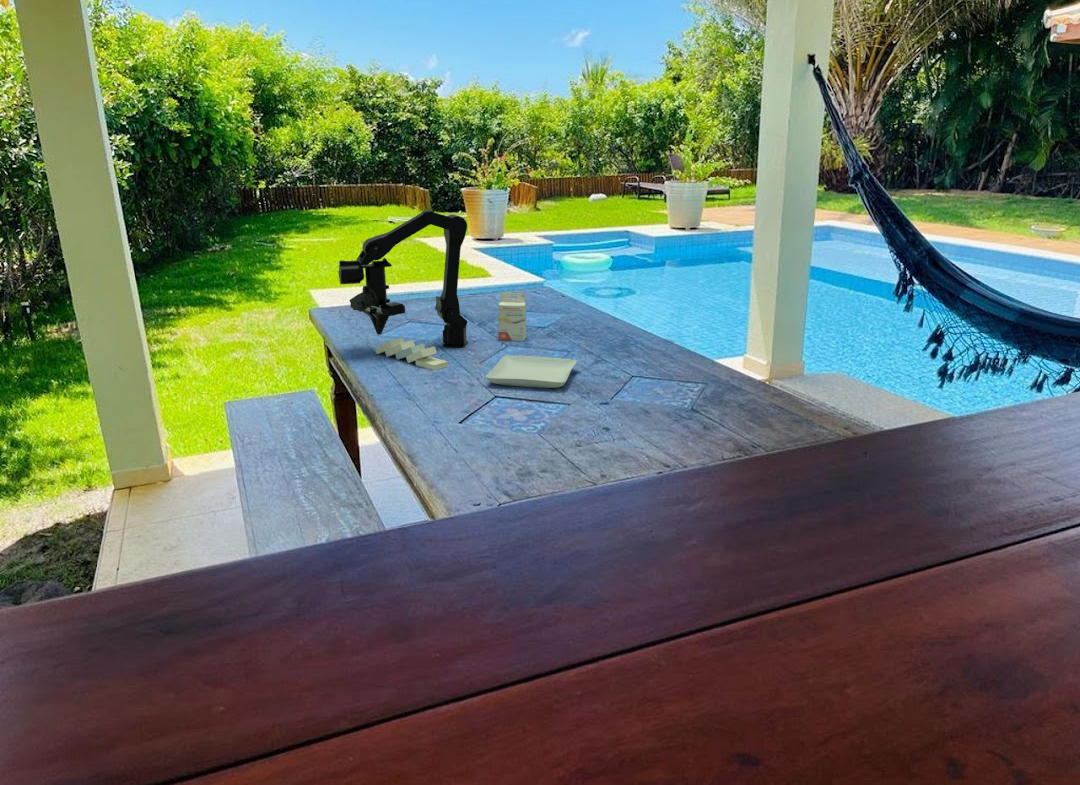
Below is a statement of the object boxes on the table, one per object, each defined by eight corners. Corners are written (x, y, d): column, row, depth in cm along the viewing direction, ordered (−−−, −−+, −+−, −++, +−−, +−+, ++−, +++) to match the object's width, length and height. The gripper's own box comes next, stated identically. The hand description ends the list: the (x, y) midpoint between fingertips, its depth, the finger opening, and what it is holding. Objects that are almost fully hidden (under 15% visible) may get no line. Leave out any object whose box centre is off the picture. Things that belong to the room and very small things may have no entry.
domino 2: (384, 350, 227) (399, 343, 221) (397, 347, 231) (413, 340, 225) (386, 357, 227) (402, 349, 221) (400, 353, 231) (415, 346, 225)
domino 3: (394, 353, 224) (410, 346, 219) (408, 349, 228) (424, 343, 222) (397, 359, 224) (413, 353, 219) (410, 356, 228) (426, 350, 222)
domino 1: (374, 348, 230) (389, 340, 224) (387, 344, 233) (402, 337, 228) (376, 354, 230) (391, 347, 224) (389, 350, 233) (405, 343, 228)
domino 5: (415, 360, 218) (434, 365, 214) (428, 356, 222) (447, 361, 217) (415, 366, 219) (434, 372, 214) (429, 363, 223) (448, 368, 218)
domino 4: (405, 356, 221) (420, 350, 215) (419, 352, 224) (434, 346, 218) (408, 363, 221) (423, 356, 215) (421, 359, 224) (436, 352, 218)
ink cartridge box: (498, 340, 245) (497, 295, 240) (500, 336, 250) (499, 292, 245) (524, 341, 244) (524, 295, 239) (526, 337, 249) (526, 292, 244)
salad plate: (565, 393, 195) (565, 381, 194) (484, 388, 200) (484, 376, 198) (578, 370, 215) (578, 358, 214) (504, 366, 219) (504, 354, 218)
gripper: (333, 282, 225) (337, 334, 230) (374, 290, 214) (378, 344, 219) (364, 277, 233) (367, 327, 238) (405, 284, 222) (407, 337, 227)
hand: (379, 334), depth 230 cm, fingers closed
